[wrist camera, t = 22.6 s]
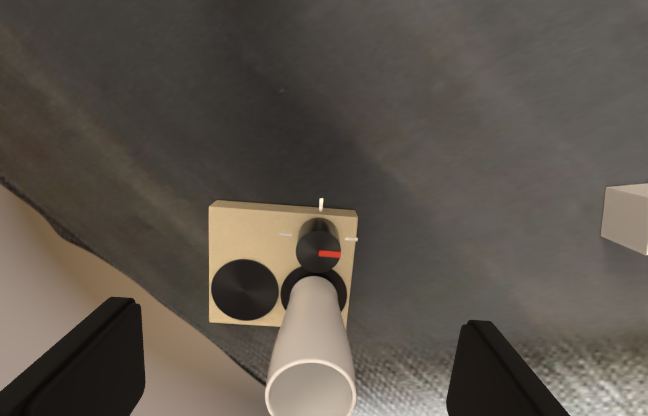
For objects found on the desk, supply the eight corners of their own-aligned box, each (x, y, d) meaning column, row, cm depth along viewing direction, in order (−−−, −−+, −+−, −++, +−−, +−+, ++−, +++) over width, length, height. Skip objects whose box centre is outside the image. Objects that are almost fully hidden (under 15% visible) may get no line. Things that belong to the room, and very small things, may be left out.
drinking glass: (350, 312, 40) (368, 424, 26) (294, 328, 41) (280, 446, 26) (334, 260, 38) (343, 348, 24) (275, 277, 39) (250, 372, 24)
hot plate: (216, 184, 39) (208, 190, 36) (358, 195, 40) (361, 201, 37) (216, 308, 43) (208, 323, 40) (345, 317, 44) (347, 332, 41)
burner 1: (211, 256, 38) (210, 257, 38) (280, 261, 39) (280, 262, 38) (211, 317, 40) (210, 318, 40) (277, 321, 41) (277, 322, 40)
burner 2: (282, 261, 39) (281, 262, 38) (350, 266, 39) (350, 267, 39) (278, 321, 41) (278, 323, 40) (343, 325, 41) (344, 327, 41)
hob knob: (296, 253, 38) (293, 272, 34) (299, 215, 37) (296, 229, 33) (336, 257, 39) (338, 276, 34) (340, 219, 37) (343, 233, 33)
